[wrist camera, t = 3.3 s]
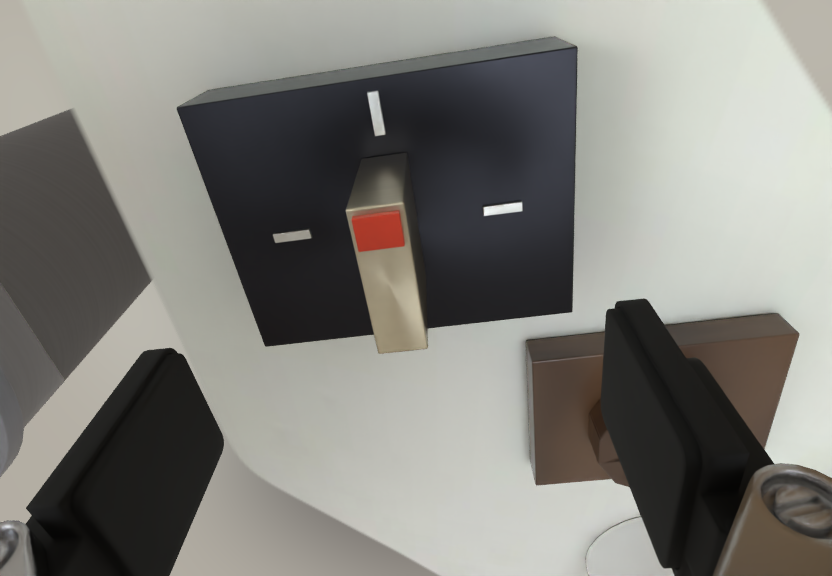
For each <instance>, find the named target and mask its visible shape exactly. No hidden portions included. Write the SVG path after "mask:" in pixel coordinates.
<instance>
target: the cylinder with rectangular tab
mask: <svg viewBox="0 0 832 576" xmlns="http://www.w3.org/2000/svg"><path fill="white" fill-rule="evenodd" d="M586 566H587V570H588V574H589V576H674V573H673V571H672V568H666V569H664V568H663V567H662V566H661V565H660V563H659V560H658V558H657V556H656V553H655V551H654V548H653V545H652V543H651V540H650V538H649V535H648V533H647V530H646V527H645V525H644V522H643V520H642V517H638V518H635V519H631V520H628V521H625V522H623V523H621V524H619V525H616V526H614V527H612V528H610V529H609V530H607V531H606V532H605V533H603V534H602V535H601V536H599V537H598V538H597V539H596V540H595V541H594V543H593V544H592V545H591V546H590V548H589V550H588V553H587V556H586Z"/></svg>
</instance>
